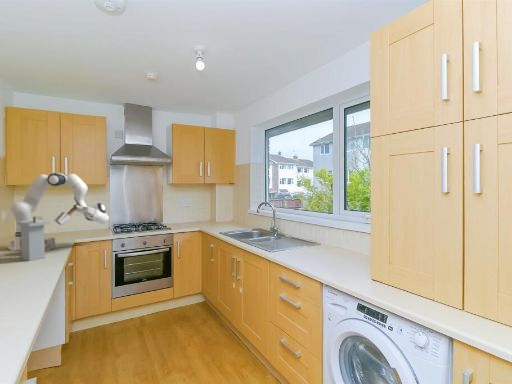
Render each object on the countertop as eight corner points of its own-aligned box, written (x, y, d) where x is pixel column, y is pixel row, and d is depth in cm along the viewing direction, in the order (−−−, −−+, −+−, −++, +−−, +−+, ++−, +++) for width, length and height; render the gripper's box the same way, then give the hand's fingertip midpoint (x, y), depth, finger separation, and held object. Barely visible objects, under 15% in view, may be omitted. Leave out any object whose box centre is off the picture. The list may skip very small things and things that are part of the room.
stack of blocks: (50, 248, 229) (49, 233, 229) (55, 249, 227) (54, 234, 226) (19, 254, 209) (19, 238, 209) (24, 255, 207) (24, 238, 207)
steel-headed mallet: (59, 224, 215) (53, 220, 211) (78, 204, 226) (73, 200, 223) (62, 224, 212) (57, 220, 209) (81, 205, 224) (76, 200, 221)
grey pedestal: (17, 258, 198) (16, 221, 197) (37, 254, 208) (36, 219, 207) (29, 262, 189) (29, 223, 188) (50, 257, 199) (49, 221, 199)
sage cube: (32, 222, 194) (32, 216, 194) (39, 221, 197) (39, 216, 197) (35, 222, 192) (35, 216, 192) (42, 222, 195) (42, 216, 195)
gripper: (85, 208, 239) (69, 201, 228) (99, 210, 229) (84, 202, 218) (81, 215, 237) (65, 208, 226) (95, 217, 227) (80, 209, 216)
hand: (75, 205), depth 222 cm, fingers closed on steel-headed mallet, 2 cm apart
